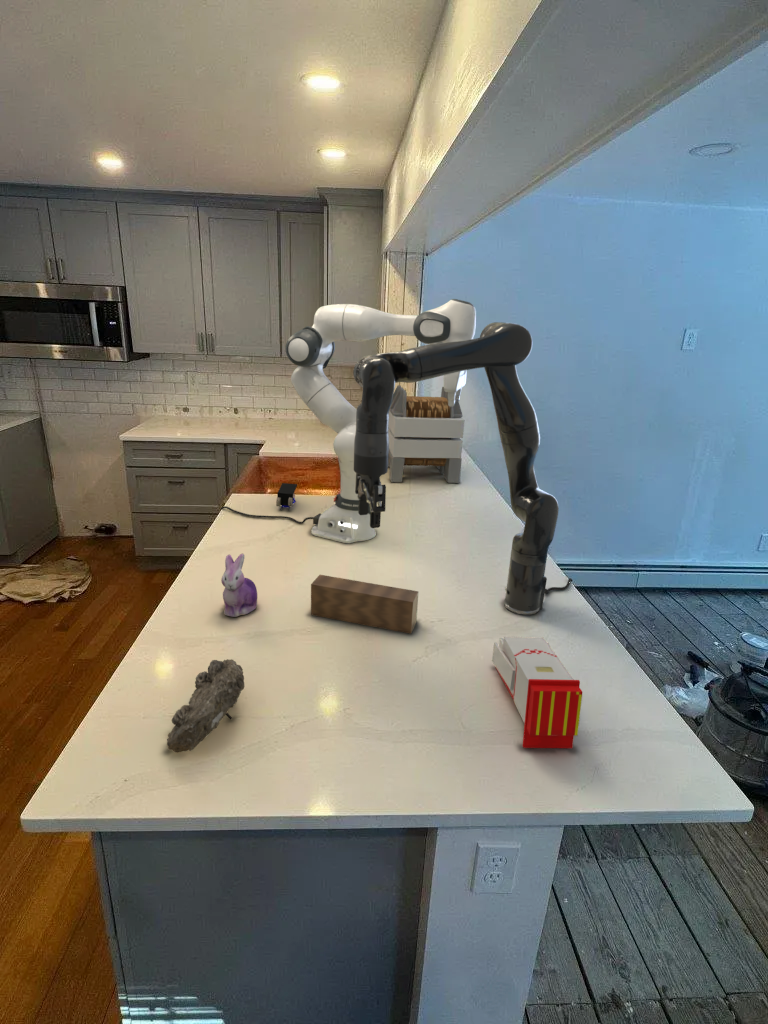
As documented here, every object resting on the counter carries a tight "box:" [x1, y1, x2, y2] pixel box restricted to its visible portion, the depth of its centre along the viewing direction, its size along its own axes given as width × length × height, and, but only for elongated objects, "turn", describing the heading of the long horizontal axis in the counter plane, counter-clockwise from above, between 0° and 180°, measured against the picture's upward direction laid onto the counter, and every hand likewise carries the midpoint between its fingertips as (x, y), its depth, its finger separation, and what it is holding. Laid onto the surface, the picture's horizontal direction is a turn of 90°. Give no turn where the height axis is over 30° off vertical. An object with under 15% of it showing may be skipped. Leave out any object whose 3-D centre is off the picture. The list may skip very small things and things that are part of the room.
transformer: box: [388, 384, 465, 484], centre depth 268 cm, size 34×33×41 cm
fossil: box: [166, 658, 245, 754], centre depth 106 cm, size 22×10×15 cm
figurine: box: [220, 553, 258, 618], centre depth 144 cm, size 9×10×15 cm
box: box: [310, 574, 419, 635], centre depth 143 cm, size 26×6×9 cm, turn 74°
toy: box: [491, 636, 583, 749], centre depth 115 cm, size 12×13×30 cm
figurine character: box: [275, 482, 298, 511], centre depth 221 cm, size 7×8×15 cm
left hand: (453, 403), depth 174 cm, fingers open, 8 cm apart
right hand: (368, 520), depth 129 cm, fingers open, 8 cm apart
